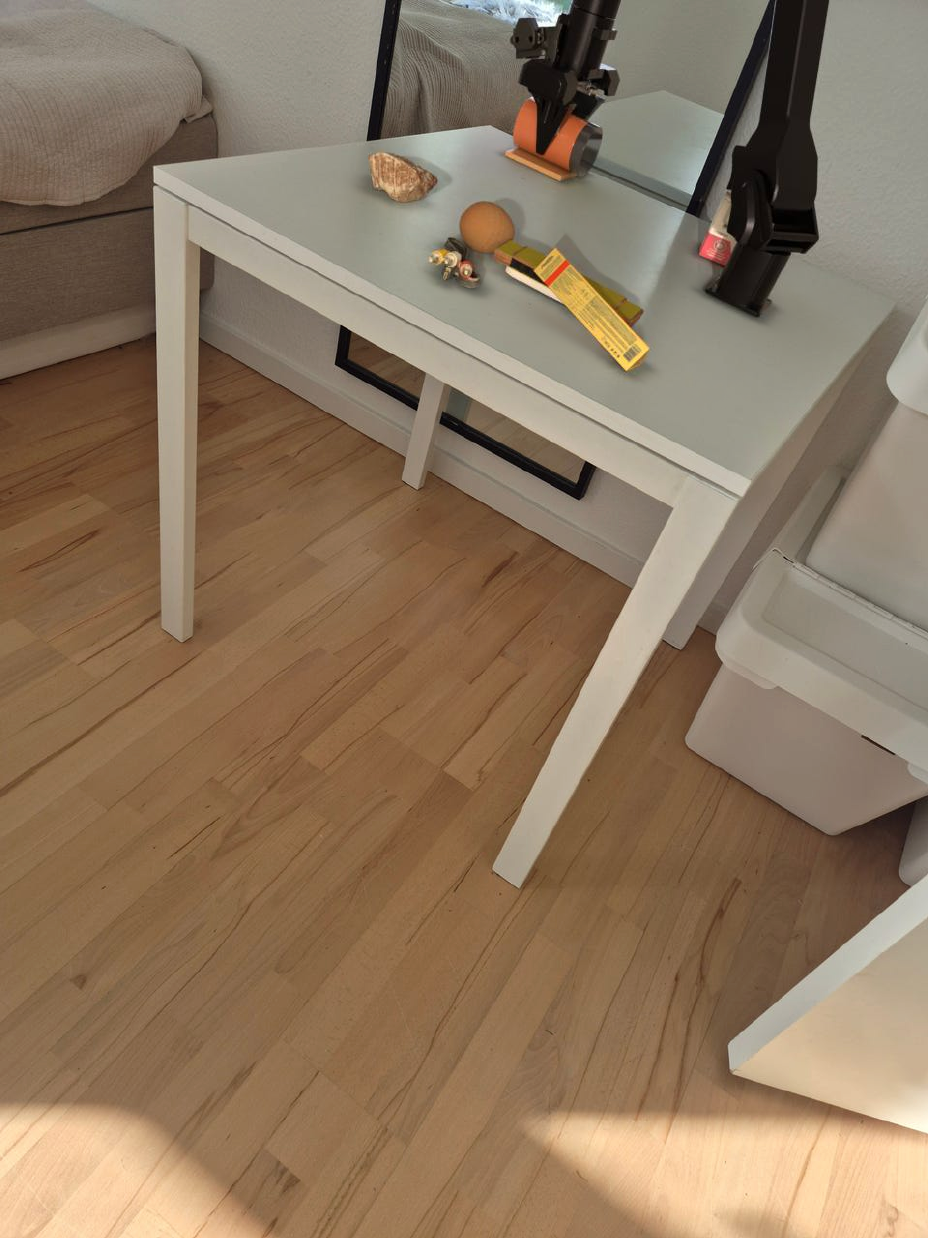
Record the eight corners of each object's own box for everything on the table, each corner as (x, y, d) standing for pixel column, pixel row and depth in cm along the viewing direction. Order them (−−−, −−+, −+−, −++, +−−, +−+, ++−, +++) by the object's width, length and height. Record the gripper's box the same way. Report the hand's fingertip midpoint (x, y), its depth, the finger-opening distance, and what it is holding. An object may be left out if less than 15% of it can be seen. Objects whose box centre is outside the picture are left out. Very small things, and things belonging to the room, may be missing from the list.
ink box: (695, 254, 99) (744, 148, 91) (701, 245, 103) (748, 142, 95) (763, 282, 98) (817, 178, 91) (766, 272, 102) (819, 170, 94)
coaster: (559, 181, 106) (561, 176, 106) (504, 155, 108) (505, 150, 108) (584, 173, 112) (585, 168, 112) (531, 149, 114) (533, 144, 114)
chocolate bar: (650, 348, 69) (652, 353, 71) (555, 247, 70) (560, 255, 72) (626, 371, 69) (629, 376, 72) (533, 270, 71) (538, 278, 73)
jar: (508, 148, 109) (522, 97, 105) (527, 144, 113) (541, 95, 109) (573, 179, 107) (590, 128, 103) (591, 173, 111) (608, 124, 107)
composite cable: (443, 243, 79) (452, 217, 77) (490, 263, 79) (499, 238, 78) (421, 277, 72) (430, 249, 70) (473, 299, 72) (482, 272, 70)
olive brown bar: (511, 235, 78) (505, 256, 80) (495, 245, 76) (489, 265, 78) (645, 306, 75) (637, 325, 77) (633, 318, 73) (624, 337, 75)
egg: (460, 187, 77) (507, 205, 81) (443, 236, 80) (490, 250, 83) (486, 203, 75) (533, 220, 79) (467, 252, 77) (514, 267, 81)
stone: (427, 221, 87) (442, 173, 86) (422, 201, 81) (438, 149, 81) (363, 199, 87) (377, 151, 86) (353, 177, 81) (369, 125, 81)
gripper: (565, -9, 107) (527, 123, 118) (500, -17, 94) (464, 133, 104) (641, 22, 105) (595, 154, 115) (585, 18, 91) (539, 168, 102)
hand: (549, 151), depth 109 cm, fingers closed on jar, 6 cm apart
